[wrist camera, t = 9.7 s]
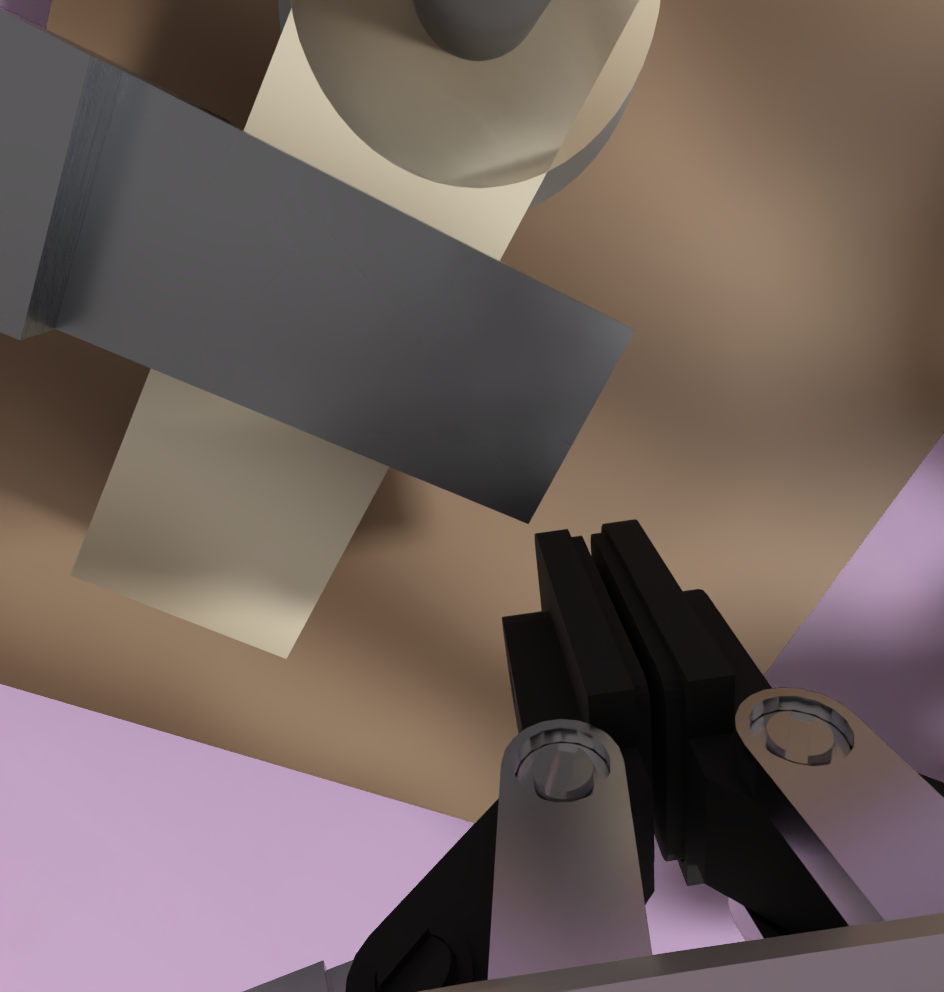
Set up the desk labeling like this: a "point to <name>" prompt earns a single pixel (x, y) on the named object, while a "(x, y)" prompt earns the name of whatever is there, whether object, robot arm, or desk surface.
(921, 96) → the base board
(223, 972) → the desk surface
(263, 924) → the desk surface
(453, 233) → the link
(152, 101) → the keeper
